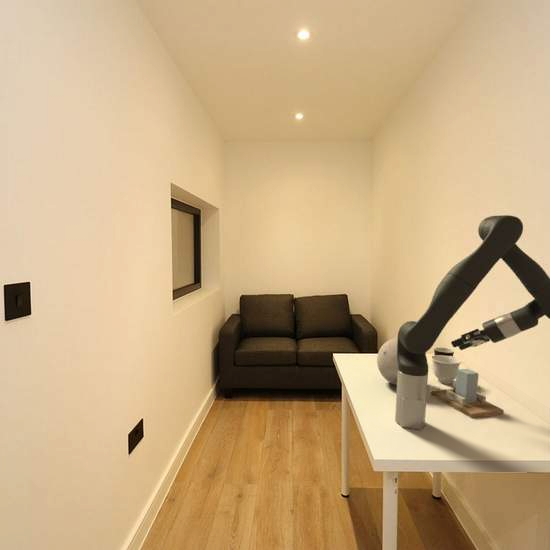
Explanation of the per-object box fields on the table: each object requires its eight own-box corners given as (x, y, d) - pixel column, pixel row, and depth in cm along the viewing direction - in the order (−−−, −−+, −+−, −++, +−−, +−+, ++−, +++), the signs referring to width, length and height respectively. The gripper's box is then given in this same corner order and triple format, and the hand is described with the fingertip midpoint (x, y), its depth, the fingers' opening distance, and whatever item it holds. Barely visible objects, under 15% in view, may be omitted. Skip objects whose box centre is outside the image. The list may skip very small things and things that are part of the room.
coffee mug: (451, 374, 165) (452, 353, 164) (431, 370, 169) (432, 350, 168) (454, 368, 174) (455, 348, 174) (435, 364, 179) (436, 345, 178)
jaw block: (476, 402, 131) (478, 373, 130) (465, 403, 130) (467, 374, 129) (465, 396, 136) (467, 368, 135) (454, 397, 135) (456, 369, 134)
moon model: (418, 399, 136) (421, 347, 135) (368, 385, 148) (370, 338, 147) (431, 384, 152) (434, 338, 151) (385, 373, 164) (387, 330, 163)
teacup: (465, 379, 158) (466, 358, 158) (455, 389, 147) (456, 365, 147) (436, 373, 166) (438, 352, 166) (425, 381, 155) (427, 358, 155)
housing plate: (503, 414, 125) (504, 396, 125) (471, 417, 122) (472, 399, 121) (459, 391, 145) (461, 376, 144) (430, 394, 141) (432, 378, 140)
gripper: (499, 321, 129) (456, 339, 137) (491, 314, 119) (444, 334, 126) (511, 340, 125) (466, 358, 133) (503, 334, 115) (454, 353, 123)
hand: (455, 346), depth 130 cm, fingers open, 8 cm apart
